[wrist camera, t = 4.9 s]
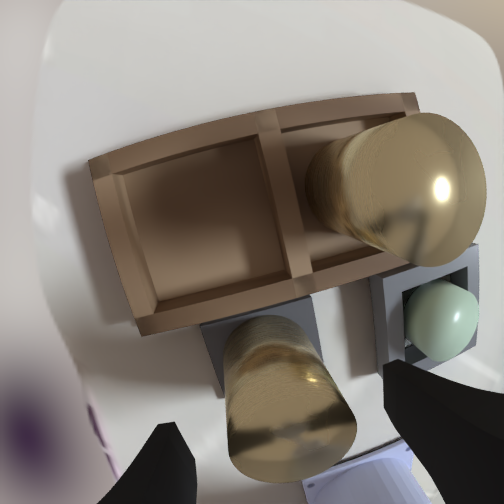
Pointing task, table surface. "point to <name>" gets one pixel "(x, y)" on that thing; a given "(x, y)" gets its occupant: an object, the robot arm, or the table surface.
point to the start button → (440, 319)
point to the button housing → (391, 307)
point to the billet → (282, 403)
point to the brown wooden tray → (233, 212)
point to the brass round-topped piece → (402, 188)
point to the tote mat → (223, 327)
